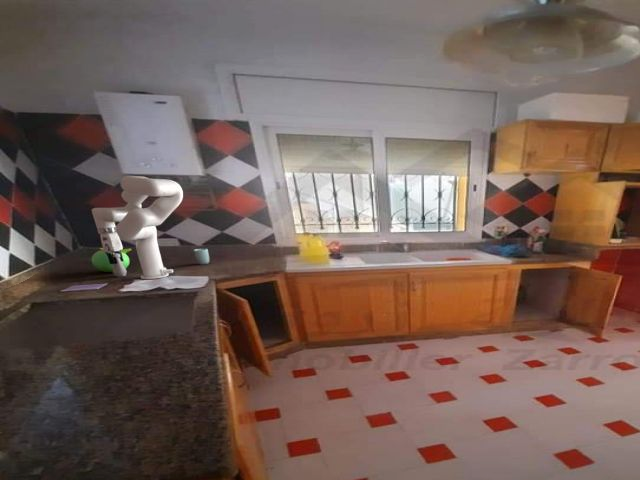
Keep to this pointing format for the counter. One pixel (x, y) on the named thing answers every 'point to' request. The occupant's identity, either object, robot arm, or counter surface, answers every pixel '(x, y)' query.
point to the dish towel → (84, 287)
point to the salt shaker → (118, 267)
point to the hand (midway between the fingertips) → (117, 262)
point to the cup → (201, 256)
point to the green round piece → (107, 260)
